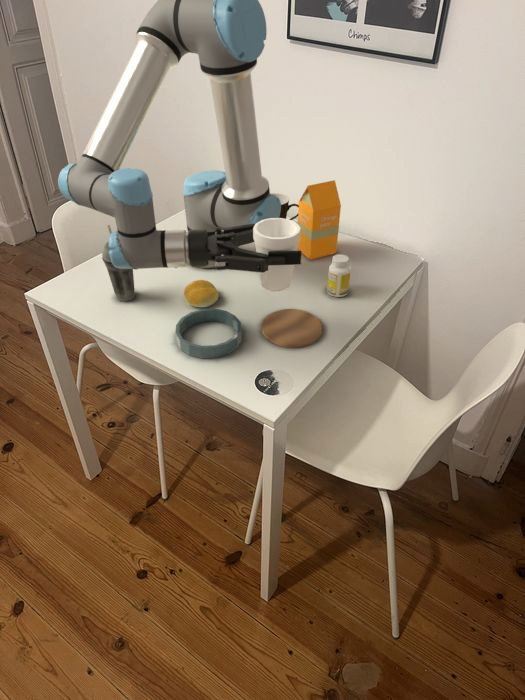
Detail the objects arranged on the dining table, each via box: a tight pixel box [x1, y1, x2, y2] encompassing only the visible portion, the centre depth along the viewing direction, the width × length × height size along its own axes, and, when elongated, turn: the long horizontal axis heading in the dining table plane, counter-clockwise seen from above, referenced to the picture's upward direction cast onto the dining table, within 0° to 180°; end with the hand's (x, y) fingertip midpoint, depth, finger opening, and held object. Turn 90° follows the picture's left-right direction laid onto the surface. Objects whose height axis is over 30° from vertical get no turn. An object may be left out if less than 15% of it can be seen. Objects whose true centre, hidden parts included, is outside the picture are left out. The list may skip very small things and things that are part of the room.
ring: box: [175, 308, 243, 360], centre depth 119 cm, size 15×15×3 cm
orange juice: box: [297, 179, 342, 261], centre depth 146 cm, size 8×9×20 cm
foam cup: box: [253, 218, 300, 292], centre depth 110 cm, size 10×9×13 cm
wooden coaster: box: [261, 308, 323, 349], centre depth 123 cm, size 14×14×1 cm
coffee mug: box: [270, 192, 299, 221], centre depth 158 cm, size 12×9×10 cm
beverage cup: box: [101, 224, 135, 303], centre depth 127 cm, size 7×7×20 cm
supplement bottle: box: [326, 253, 352, 298], centre depth 132 cm, size 5×5×10 cm
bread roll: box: [183, 279, 219, 308], centre depth 131 cm, size 8×9×4 cm
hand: (298, 245), depth 109 cm, fingers closed on foam cup, 9 cm apart
